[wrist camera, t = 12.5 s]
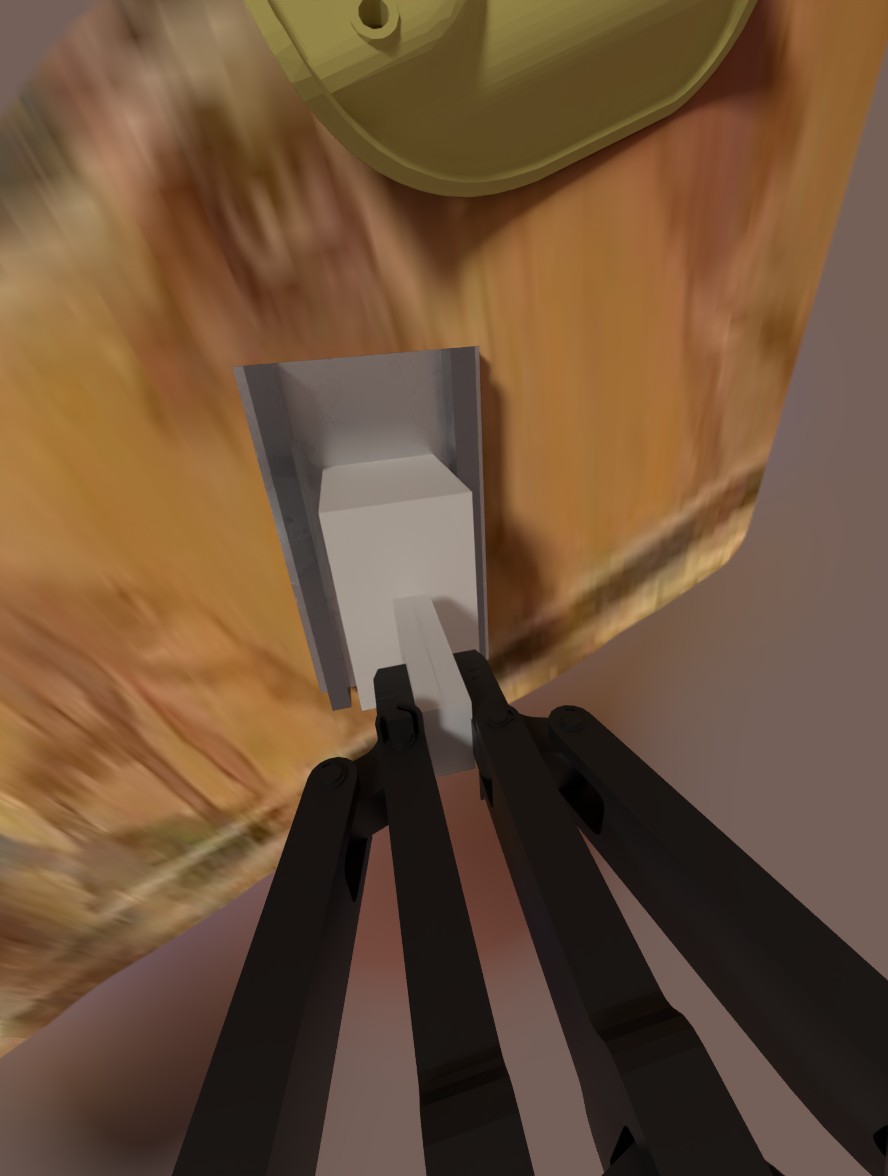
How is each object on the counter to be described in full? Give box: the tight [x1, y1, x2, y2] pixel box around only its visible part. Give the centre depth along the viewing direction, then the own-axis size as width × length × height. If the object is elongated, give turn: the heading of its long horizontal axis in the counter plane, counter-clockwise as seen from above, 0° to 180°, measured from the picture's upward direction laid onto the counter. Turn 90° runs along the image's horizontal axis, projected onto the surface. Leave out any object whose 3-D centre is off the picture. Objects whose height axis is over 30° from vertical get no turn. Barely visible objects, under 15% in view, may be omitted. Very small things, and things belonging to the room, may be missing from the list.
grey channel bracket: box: [233, 346, 489, 711], centre depth 26 cm, size 12×20×3 cm, turn 5°
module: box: [318, 454, 480, 711], centre depth 23 cm, size 6×10×8 cm, turn 5°
